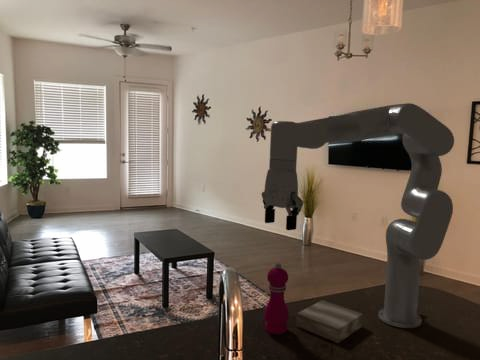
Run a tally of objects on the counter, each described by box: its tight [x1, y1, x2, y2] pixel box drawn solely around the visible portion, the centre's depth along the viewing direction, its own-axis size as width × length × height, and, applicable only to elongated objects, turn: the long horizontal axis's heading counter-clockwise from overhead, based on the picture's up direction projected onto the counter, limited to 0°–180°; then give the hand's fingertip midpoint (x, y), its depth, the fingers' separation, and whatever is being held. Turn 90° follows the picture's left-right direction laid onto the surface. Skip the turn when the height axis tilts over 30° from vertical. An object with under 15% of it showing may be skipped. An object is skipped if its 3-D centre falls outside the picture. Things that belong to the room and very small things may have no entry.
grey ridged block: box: [295, 299, 364, 344], centre depth 123 cm, size 14×14×4 cm
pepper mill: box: [263, 262, 290, 335], centre depth 119 cm, size 7×7×20 cm
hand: (279, 226), depth 117 cm, fingers open, 9 cm apart
